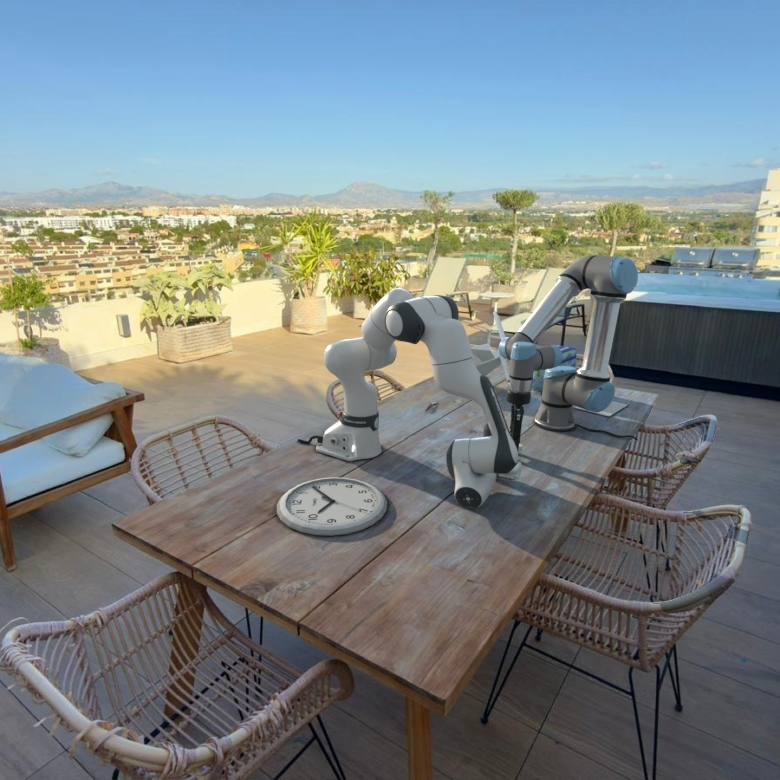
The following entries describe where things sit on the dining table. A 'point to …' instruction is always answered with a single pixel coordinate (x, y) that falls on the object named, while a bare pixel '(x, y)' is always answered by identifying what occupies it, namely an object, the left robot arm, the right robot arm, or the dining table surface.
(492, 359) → the white plastic object
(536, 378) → the lunch box
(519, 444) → the lid
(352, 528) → the wall clock
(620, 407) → the invitation card
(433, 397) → the fork
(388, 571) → the dining table surface
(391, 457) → the dining table surface
